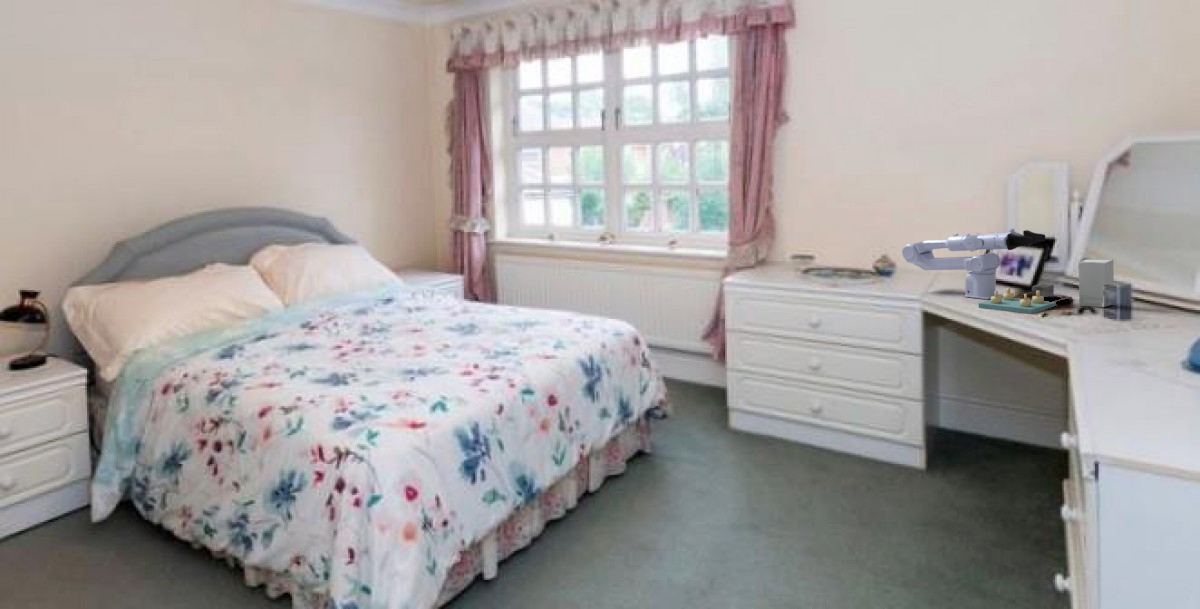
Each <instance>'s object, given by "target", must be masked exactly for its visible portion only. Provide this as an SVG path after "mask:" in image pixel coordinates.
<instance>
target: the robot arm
mask: <svg viewBox="0 0 1200 609" xmlns="http://www.w3.org/2000/svg"><path fill="white" fill-rule="evenodd" d="M1022 233H1023V234H1021V233H1018V232H1016V231H1015V228H1009V229H1008V232H996V233H995V232H992V233H991V232H990V233H985V234H984V233H975V234H971V233H965V234H963V235H962V234H961V235H960V234H959V233H955V234H954V233H953V234H952V235H950V236H949V237H948V238H947V239H928V240H923V241H919V242H914V243H912V244H911V243H908V244H905V245H904V246H903V247H902V250H901V254H902V257H903V258H904V260H905V261H906V263H909V264H913V265H915V266H916V267H918V268H920V269H922V270H924V271H957V270H958V271H960V270H961V271H963V270H966V271H967V274H966V276H965V285H964V286H965V288H964V289H965V291H964V294H965V295H963V297H964V298H971V299H983V300H991V297H992V296H995V291H997V288H996V287H997V284H996V281H997V278H996V277H997V269H998V268H999V267H1000V264H1001V259H1000V256H999V255H998V254H997V253H995V252H987V253H984V254H980V255H974V256H973V255H971V256H954V257H952V256H948V257H935V256H934V253H933V251H934V250H938V249H939V250H940V249H948V250H949V251H951V252H961V251H962V252H964V251H965V252H966V251H970V252H975V251H978V250H985V251H987V250H990V251H991V250H1007V251H1012V250H1016V249H1017V248H1019V247H1023V246H1024V247H1026V248H1027V247H1030V246H1032V245H1034V244H1037V243H1042V242H1046V241H1047V240H1046V234H1043V233H1037V232H1033V231H1031V230H1028V229H1025V230H1023V231H1022ZM969 271H970V272H969ZM998 296H1000V297H1002V294H1000V293H998Z"/></svg>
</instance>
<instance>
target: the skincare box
mask: <svg viewBox="0 0 1200 609" xmlns="http://www.w3.org/2000/svg"><path fill="white" fill-rule="evenodd" d="M1114 275H1115V274H1114V259H1088V258H1087V259H1083V260H1082V261H1079V262H1078V288H1079V289H1078V295H1079V296H1078V297H1079V298H1078V300H1079V302H1078V304H1079V307H1081V306H1083V307H1092V308H1093V307H1095V308H1103V307H1102V303H1103V286H1104V284H1105V283H1111V282H1114V283H1115V281H1114V280H1115V278H1114V277H1115V276H1114Z"/></svg>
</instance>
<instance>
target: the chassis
mask: <svg viewBox="0 0 1200 609" xmlns="http://www.w3.org/2000/svg"><path fill="white" fill-rule="evenodd" d="M998 294H999V290H996V291H995V296H992V297H991V299H988V300H986V301H983V302H979V303H978V308H980V309H985V310H996V311H1004V312H1010V313H1011V312H1013V313H1022V314H1029V315H1032V314H1037V313H1039V311H1040V312H1043V311H1046V310H1045V309H1047V308H1050V307H1054V306H1056V307H1057V304H1056V302H1049V301H1044V297H1043V296H1040V291H1036V296H1033V297H1032V300H1030V299H1027V294H1028V293H1023V295H1024V299H1021V298H1014V297H1015V293H1014V292H1013V293H1012V292H1011V287H1007V288H1006V292H1005V293H1003V295H1002V296H998ZM1054 308H1055V307H1054ZM1050 309H1051V308H1050ZM1042 310H1043V311H1042ZM1047 310H1048V309H1047ZM1036 312H1037V313H1036Z"/></svg>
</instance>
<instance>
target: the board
mask: <svg viewBox="0 0 1200 609" xmlns="http://www.w3.org/2000/svg"><path fill="white" fill-rule="evenodd" d="M1054 285H1055V284H1048V283H1039V284H1036V285H1033V286H1031V293H1032V297H1033V296H1036V291H1040V296H1043V297H1048V296H1057V297H1060V298H1061V299H1059V300H1055V301H1052V302H1057V301H1060V300H1065V299H1070V300H1069V301H1071V300H1073V296H1069V295H1068V296H1067V295H1056V294H1055V293H1054V292H1055V290H1054V288H1055V286H1054ZM1022 295H1023V294H1021V295H1018V296H1014V298H1019V297H1023V296H1022ZM1063 297H1065V298H1063ZM1021 299H1024V298H1021ZM1027 299H1031V300H1032V298H1029V297H1028V298H1027Z"/></svg>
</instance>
